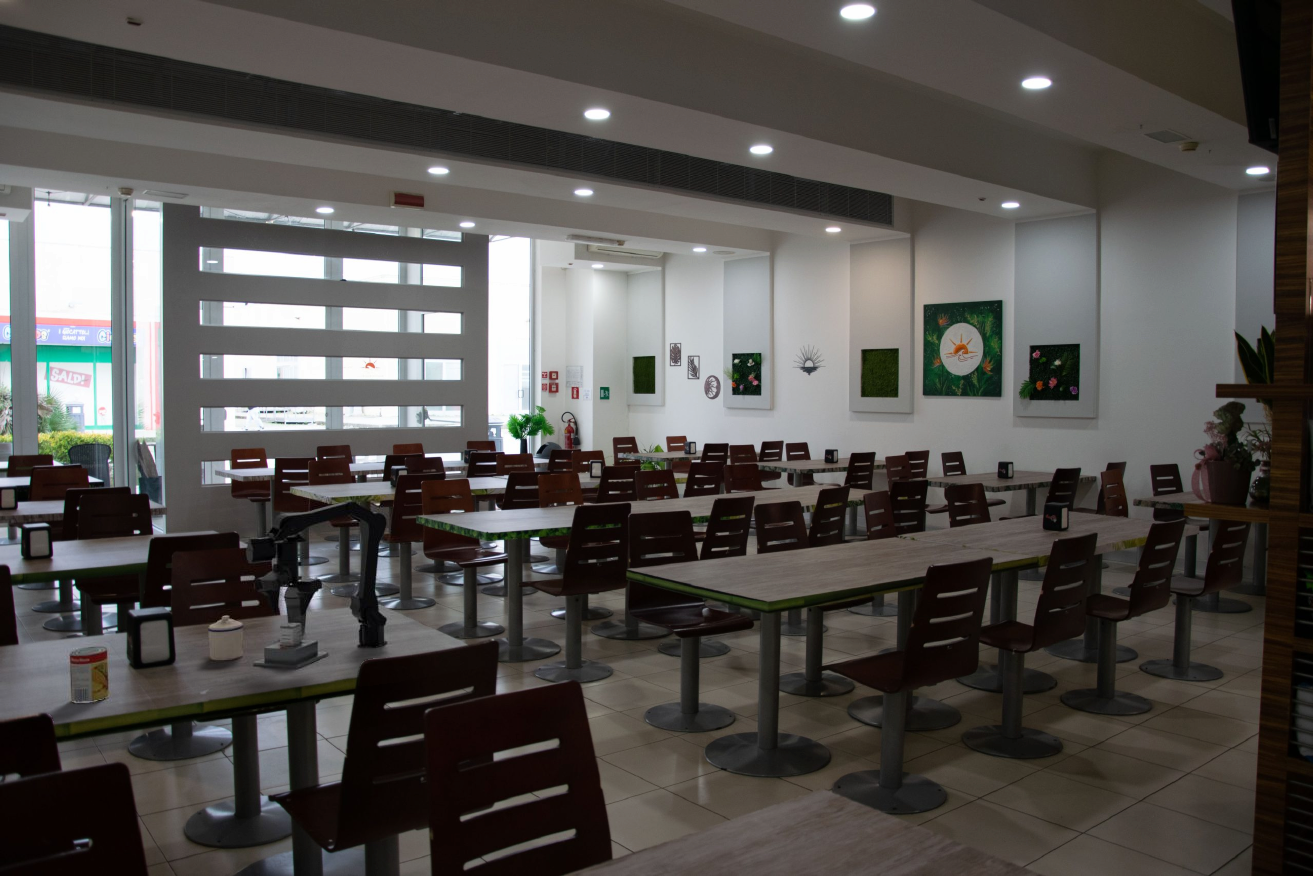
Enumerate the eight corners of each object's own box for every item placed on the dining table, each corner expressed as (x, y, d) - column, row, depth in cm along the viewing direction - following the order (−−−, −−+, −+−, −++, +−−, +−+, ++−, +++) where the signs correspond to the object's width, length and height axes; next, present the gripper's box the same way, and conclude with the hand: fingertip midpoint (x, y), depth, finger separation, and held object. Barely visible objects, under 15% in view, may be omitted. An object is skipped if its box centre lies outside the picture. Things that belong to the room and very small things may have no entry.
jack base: (328, 655, 268) (327, 639, 268) (297, 668, 254) (296, 651, 254) (286, 652, 272) (286, 636, 272) (253, 665, 258) (253, 648, 258)
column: (302, 655, 265) (301, 623, 264) (292, 659, 260) (292, 627, 260) (289, 654, 266) (289, 622, 265) (280, 658, 262) (279, 626, 261)
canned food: (114, 693, 234) (112, 645, 234) (100, 703, 226) (99, 654, 226) (80, 695, 233) (78, 647, 233) (65, 705, 225) (63, 655, 225)
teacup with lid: (250, 655, 269) (249, 614, 269) (222, 662, 261) (221, 621, 261) (224, 649, 275) (223, 610, 275) (195, 657, 267) (194, 616, 267)
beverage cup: (300, 635, 291) (299, 571, 290) (279, 634, 292) (278, 571, 292) (314, 630, 298) (312, 567, 297) (293, 629, 299) (291, 567, 299)
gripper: (239, 562, 257) (240, 619, 258) (296, 565, 252) (297, 623, 252) (267, 556, 268) (268, 610, 269) (322, 558, 262) (324, 614, 263)
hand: (288, 614), depth 263 cm, fingers open, 9 cm apart
